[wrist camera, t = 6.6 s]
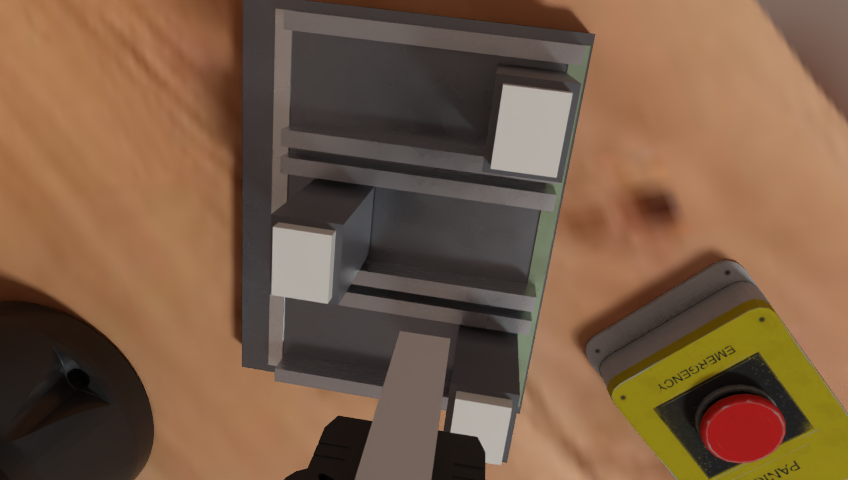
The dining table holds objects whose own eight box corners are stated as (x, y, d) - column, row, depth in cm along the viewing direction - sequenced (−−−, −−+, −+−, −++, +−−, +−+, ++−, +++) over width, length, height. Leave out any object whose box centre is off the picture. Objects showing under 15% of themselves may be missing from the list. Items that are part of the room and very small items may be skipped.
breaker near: (486, 142, 28) (481, 175, 22) (497, 63, 27) (496, 74, 21) (550, 151, 28) (563, 187, 22) (565, 71, 26) (583, 85, 20)
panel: (252, 353, 36) (230, 381, 33) (255, -6, 29) (228, -9, 26) (519, 397, 34) (520, 430, 32) (590, 33, 27) (600, 34, 25)
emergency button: (764, 283, 26) (924, 509, 29) (729, 248, 30) (873, 450, 33) (585, 385, 29) (747, 583, 32) (576, 341, 33) (720, 519, 36)
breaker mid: (312, 245, 31) (264, 300, 25) (315, 178, 30) (265, 218, 23) (368, 254, 31) (334, 311, 24) (374, 186, 29) (339, 229, 23)
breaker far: (451, 377, 33) (439, 460, 26) (460, 319, 31) (449, 391, 25) (506, 386, 32) (506, 472, 26) (517, 328, 31) (520, 403, 25)
